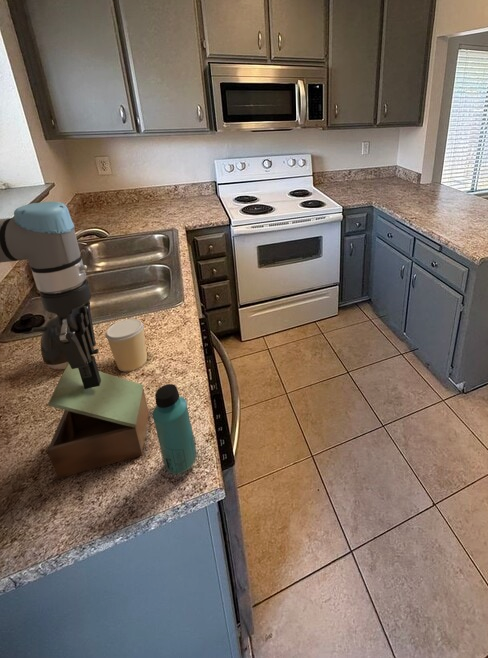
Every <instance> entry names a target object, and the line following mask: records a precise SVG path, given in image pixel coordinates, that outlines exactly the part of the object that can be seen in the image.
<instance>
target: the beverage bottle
mask: <svg viewBox="0 0 488 658" xmlns="http://www.w3.org/2000/svg"><path fill="white" fill-rule="evenodd" d="M154 398H155V406H154V408H153V410H152V419H153V422H154V426H155V431H156V436H157V439H158V443H159V447H160V448H159V449H160V455H161V459H162V462H163V465H164V468H165V470H166V471H167V472H168V473H169V474H172V475H173V474H174V475H179V474H183V473H185V472H186V471H188V470H189V469H190V468H191V467H193V465H194V464H195V462H196V459H197V453H198V451H197V450H198V448H197V446H196V438H195V434H194V431H193V427H192V423H191V418H190V414H189V409H188V402H187V399H186V398H185V397H183V396H180V392H179V390H178V387H177V386H176V385H175V384H173V383H168V384H164V385H161V387H159V388H158V389H157V390H156V392H155V394H154Z"/></svg>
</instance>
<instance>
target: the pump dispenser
mask: <svg viewBox="0 0 488 658" xmlns="http://www.w3.org/2000/svg"><path fill="white" fill-rule="evenodd" d="M31 332H33V333H41V339H40V353H41V358H42V361H43V363H44V364H45V365H47V366H48V367H49V368H50V369H54V370H65V368H66V366H67V364H68V363H69V362H68V360H67V358H66V356H65V354H64V353H63V351H62V349H61V347H60V345H59V344H58V343H57V342H56V341H55V335H57V334H60V333H61V327H60V326H58V323H57V316H54V317H52V318H50V319H48V321H46V323H45V324H44V326H37V327H32V328H31Z"/></svg>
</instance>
